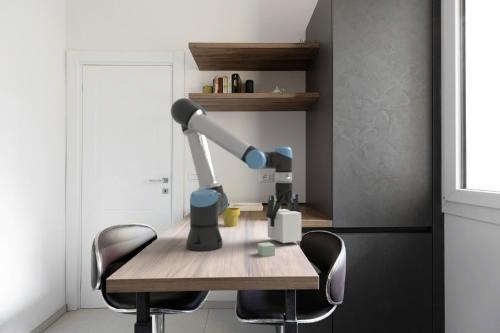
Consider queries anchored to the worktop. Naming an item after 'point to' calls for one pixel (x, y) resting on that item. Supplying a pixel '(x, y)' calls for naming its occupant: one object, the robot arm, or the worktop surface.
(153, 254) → the worktop surface
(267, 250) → the block
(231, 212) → the plant pot
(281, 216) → the white upright box
